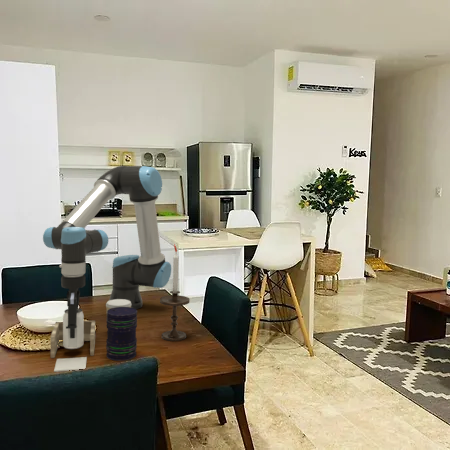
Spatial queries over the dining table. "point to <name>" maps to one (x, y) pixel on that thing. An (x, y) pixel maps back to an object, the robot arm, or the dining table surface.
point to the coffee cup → (117, 303)
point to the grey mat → (70, 364)
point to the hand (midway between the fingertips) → (73, 343)
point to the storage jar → (121, 333)
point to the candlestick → (174, 304)
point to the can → (79, 329)
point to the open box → (58, 335)
